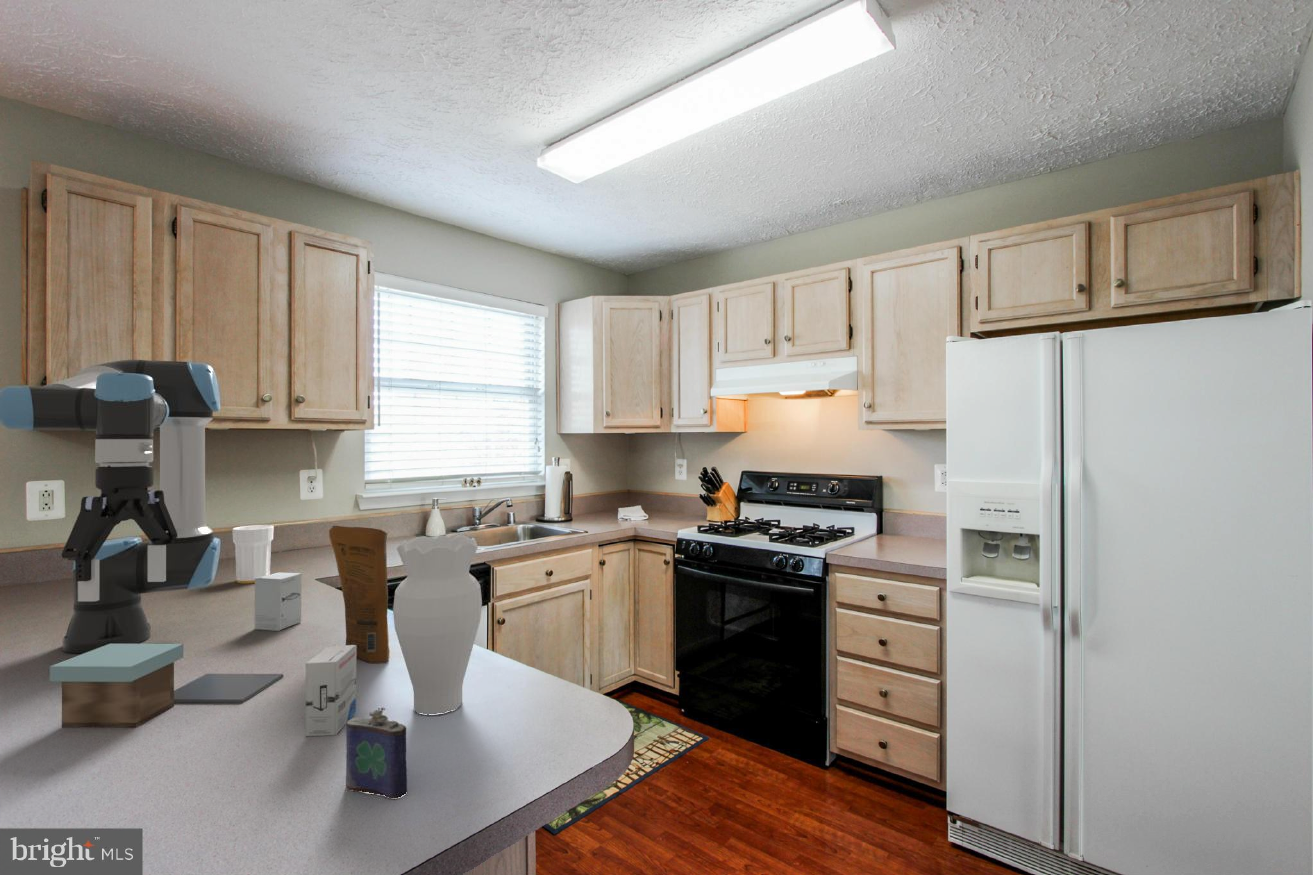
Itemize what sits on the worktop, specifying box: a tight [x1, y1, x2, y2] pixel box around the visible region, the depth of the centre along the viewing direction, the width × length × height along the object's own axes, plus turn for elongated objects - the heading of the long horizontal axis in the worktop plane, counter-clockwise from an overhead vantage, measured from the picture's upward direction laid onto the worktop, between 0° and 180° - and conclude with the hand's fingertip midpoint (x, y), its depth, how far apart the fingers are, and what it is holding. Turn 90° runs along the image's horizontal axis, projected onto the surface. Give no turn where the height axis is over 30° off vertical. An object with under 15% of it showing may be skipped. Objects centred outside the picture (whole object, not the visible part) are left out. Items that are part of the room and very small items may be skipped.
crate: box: [61, 662, 175, 729], centre depth 106 cm, size 12×8×8 cm, turn 90°
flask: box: [345, 707, 408, 799], centre depth 84 cm, size 9×3×11 cm, turn 72°
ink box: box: [305, 645, 357, 737], centre depth 103 cm, size 9×5×12 cm, turn 5°
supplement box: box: [254, 572, 302, 632], centre depth 156 cm, size 7×7×13 cm
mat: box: [174, 673, 284, 704], centre depth 117 cm, size 15×12×1 cm
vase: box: [392, 534, 483, 715], centre depth 110 cm, size 15×15×29 cm
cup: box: [231, 524, 275, 585], centre depth 205 cm, size 11×11×17 cm
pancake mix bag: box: [328, 525, 390, 664], centre depth 135 cm, size 7×19×28 cm, turn 53°
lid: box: [49, 643, 184, 682], centre depth 106 cm, size 13×11×5 cm
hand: (124, 590), depth 106 cm, fingers open, 13 cm apart
